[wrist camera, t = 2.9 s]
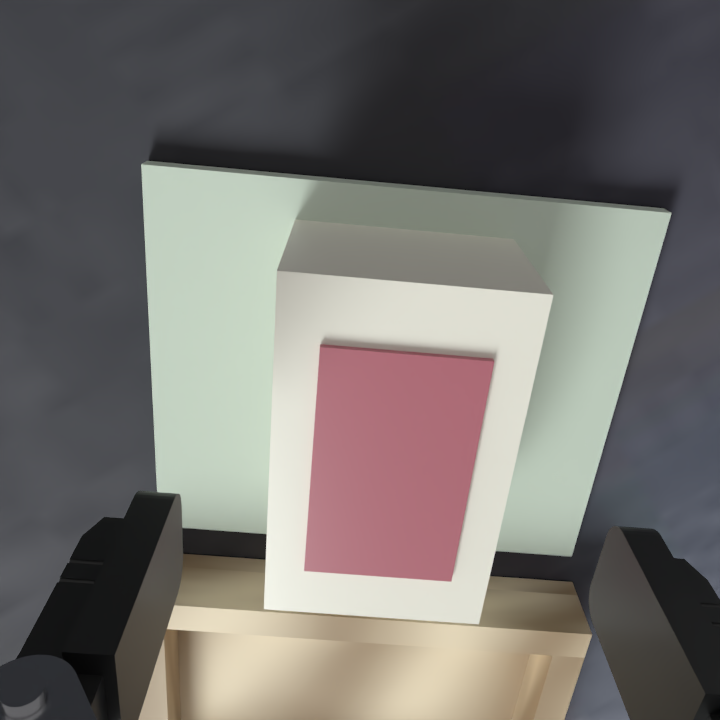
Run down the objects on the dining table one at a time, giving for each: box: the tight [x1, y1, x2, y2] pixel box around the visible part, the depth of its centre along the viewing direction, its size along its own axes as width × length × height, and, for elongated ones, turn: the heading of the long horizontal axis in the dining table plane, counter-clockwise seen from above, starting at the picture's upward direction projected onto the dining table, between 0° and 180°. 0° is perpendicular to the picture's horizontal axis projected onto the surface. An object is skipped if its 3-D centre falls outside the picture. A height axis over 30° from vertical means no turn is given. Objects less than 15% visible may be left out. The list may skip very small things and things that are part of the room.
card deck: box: [264, 219, 553, 624], centre depth 17 cm, size 9×6×4 cm, turn 175°
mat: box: [141, 161, 671, 557], centre depth 19 cm, size 13×11×1 cm
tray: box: [138, 554, 592, 720], centre depth 24 cm, size 14×10×2 cm
